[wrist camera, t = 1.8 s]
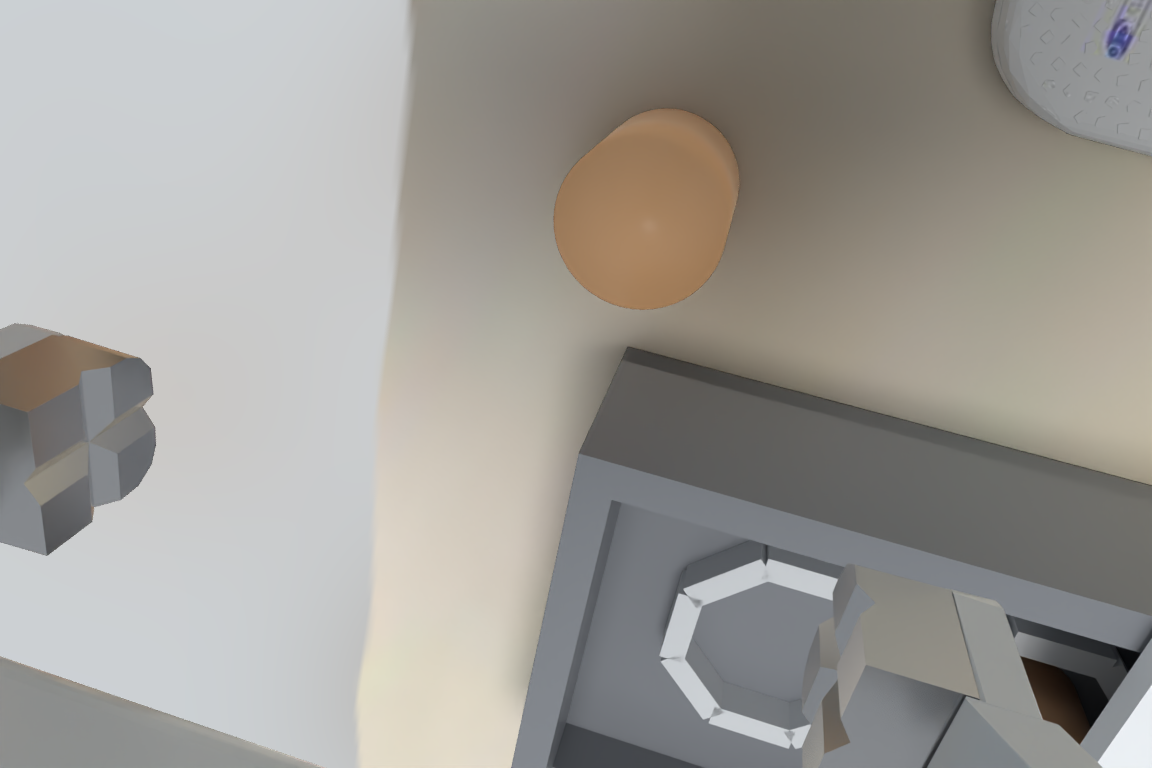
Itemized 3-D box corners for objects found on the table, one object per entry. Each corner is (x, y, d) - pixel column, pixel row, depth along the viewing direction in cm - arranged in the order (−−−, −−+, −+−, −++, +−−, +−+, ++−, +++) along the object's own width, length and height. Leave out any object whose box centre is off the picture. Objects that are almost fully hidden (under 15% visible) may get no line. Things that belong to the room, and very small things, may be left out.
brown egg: (609, 93, 23) (569, 118, 19) (757, 126, 22) (748, 159, 18) (582, 235, 24) (541, 286, 21) (718, 270, 24) (702, 328, 20)
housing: (627, 346, 26) (578, 453, 20) (1581, 600, 22) (1849, 814, 17) (543, 712, 33) (490, 866, 27) (1249, 941, 30) (1356, 1171, 24)
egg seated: (966, 635, 26) (996, 754, 22) (1101, 675, 25) (1157, 804, 22) (918, 724, 28) (938, 848, 24) (1044, 763, 27) (1085, 896, 23)
